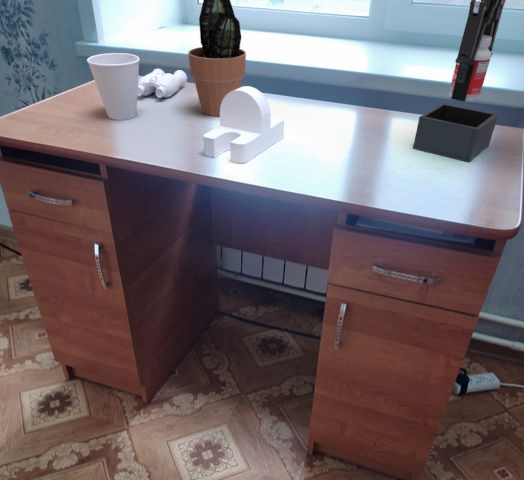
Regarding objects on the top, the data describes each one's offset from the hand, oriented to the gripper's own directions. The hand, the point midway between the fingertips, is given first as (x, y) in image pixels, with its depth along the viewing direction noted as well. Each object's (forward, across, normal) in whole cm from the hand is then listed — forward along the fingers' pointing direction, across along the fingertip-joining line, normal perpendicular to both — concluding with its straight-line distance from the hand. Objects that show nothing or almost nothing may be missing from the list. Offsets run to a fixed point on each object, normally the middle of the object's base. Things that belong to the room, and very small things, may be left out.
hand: (464, 95), depth 104 cm
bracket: (+11, +28, -36) cm, 47 cm away
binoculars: (+11, +11, -79) cm, 80 cm away
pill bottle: (+1, 0, 0) cm, 1 cm away
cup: (+11, +31, -72) cm, 79 cm away
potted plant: (+11, +13, -56) cm, 58 cm away
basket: (+10, 0, 0) cm, 10 cm away
